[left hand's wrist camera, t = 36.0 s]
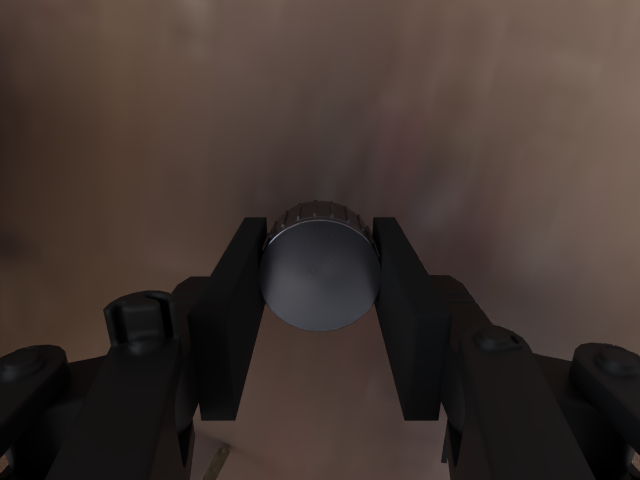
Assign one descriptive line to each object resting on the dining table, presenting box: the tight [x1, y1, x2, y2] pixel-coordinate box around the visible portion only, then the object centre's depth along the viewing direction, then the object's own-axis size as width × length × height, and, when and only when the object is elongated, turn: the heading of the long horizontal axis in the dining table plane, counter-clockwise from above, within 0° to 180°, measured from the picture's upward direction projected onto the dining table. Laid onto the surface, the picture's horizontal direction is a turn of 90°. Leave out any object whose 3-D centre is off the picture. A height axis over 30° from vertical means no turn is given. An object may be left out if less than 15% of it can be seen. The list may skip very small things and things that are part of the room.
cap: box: [258, 200, 381, 332], centre depth 13 cm, size 4×4×2 cm
